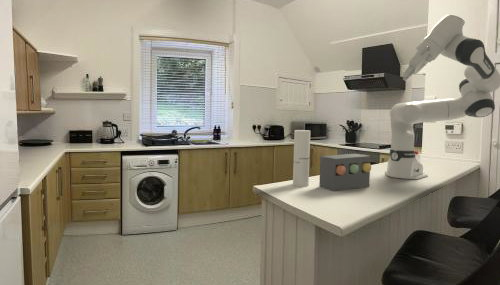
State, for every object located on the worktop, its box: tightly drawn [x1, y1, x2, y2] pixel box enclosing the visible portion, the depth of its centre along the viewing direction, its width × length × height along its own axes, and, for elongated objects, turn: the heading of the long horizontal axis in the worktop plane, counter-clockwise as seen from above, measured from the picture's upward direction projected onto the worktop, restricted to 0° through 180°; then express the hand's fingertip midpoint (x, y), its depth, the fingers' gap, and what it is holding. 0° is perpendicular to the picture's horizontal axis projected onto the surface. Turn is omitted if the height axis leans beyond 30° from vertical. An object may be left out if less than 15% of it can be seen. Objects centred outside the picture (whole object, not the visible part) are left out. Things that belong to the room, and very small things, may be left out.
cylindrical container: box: [292, 129, 311, 188], centre depth 154 cm, size 7×7×25 cm
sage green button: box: [349, 164, 359, 174], centre depth 149 cm, size 4×3×4 cm
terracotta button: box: [336, 165, 346, 175], centre depth 145 cm, size 4×3×4 cm
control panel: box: [318, 153, 372, 192], centre depth 153 cm, size 22×9×14 cm, turn 120°
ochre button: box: [362, 162, 372, 173], centre depth 153 cm, size 4×3×4 cm
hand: (403, 78), depth 143 cm, fingers open, 8 cm apart
